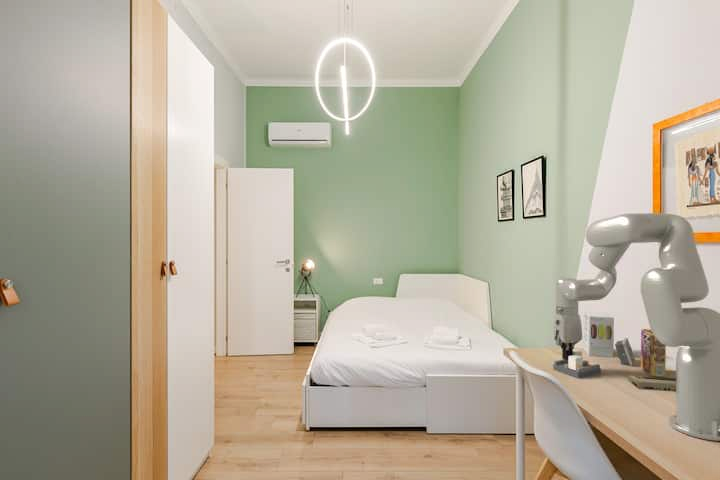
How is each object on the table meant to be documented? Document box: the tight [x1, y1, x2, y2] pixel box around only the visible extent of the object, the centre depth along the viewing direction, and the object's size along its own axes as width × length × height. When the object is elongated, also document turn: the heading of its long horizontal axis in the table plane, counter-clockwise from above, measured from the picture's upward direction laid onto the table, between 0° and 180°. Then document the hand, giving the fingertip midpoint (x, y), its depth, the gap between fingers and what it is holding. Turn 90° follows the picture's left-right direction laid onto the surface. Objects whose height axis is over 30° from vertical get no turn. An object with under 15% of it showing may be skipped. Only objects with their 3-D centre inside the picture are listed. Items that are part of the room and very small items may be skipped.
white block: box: [568, 355, 584, 370], centre depth 147 cm, size 3×4×4 cm
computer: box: [627, 375, 676, 392], centre depth 136 cm, size 16×8×3 cm, turn 77°
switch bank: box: [552, 358, 602, 379], centre depth 151 cm, size 10×12×3 cm
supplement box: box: [583, 311, 615, 358], centre depth 173 cm, size 10×9×17 cm
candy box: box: [640, 328, 667, 377], centre depth 149 cm, size 9×4×15 cm, turn 171°
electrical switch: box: [614, 337, 636, 367], centre depth 161 cm, size 9×5×9 cm, turn 141°
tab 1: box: [573, 349, 583, 357], centre depth 154 cm, size 3×4×4 cm
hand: (567, 359), depth 153 cm, fingers closed
